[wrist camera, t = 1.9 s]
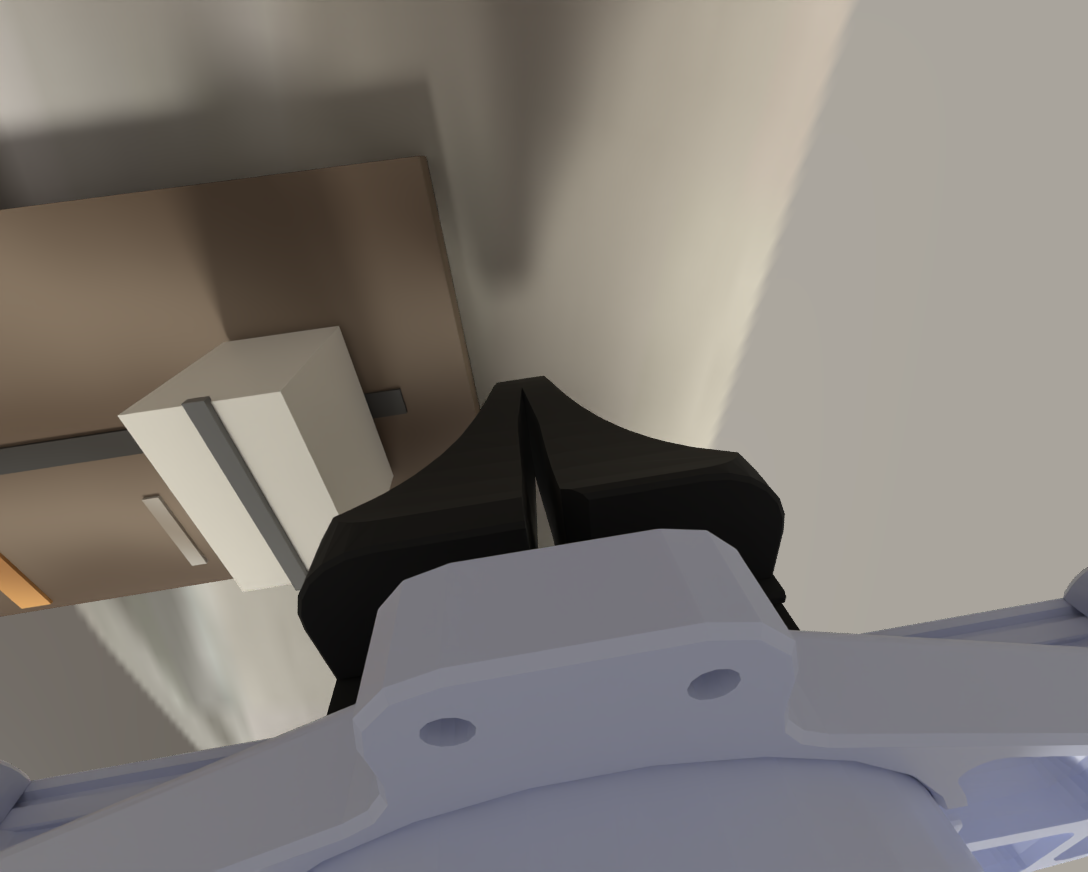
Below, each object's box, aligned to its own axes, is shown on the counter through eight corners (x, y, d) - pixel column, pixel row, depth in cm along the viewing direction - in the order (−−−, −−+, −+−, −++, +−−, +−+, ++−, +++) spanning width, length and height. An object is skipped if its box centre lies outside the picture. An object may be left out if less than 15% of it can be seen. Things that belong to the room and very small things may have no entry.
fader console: (501, 507, 18) (502, 536, 17) (-45, 596, 17) (-90, 633, 16) (426, 156, 12) (418, 155, 10) (-450, 269, 11) (-586, 285, 9)
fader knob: (394, 478, 14) (365, 579, 11) (301, 492, 14) (242, 599, 11) (337, 322, 12) (275, 389, 8) (221, 338, 12) (107, 415, 8)
